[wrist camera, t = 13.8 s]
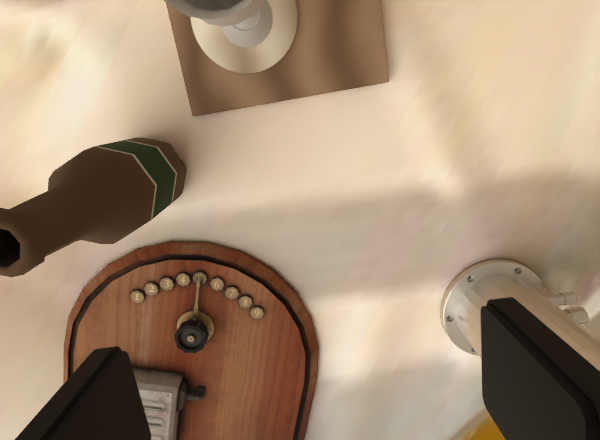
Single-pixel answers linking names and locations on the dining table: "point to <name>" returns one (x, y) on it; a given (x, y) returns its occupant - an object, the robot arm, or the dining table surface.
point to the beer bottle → (91, 201)
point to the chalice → (232, 17)
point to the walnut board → (283, 55)
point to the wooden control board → (203, 341)
